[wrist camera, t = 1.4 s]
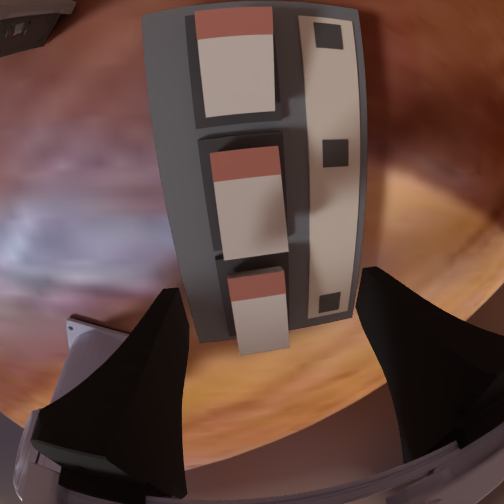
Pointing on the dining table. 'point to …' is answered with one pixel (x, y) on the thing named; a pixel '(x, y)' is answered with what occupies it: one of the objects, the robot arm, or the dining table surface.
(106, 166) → the dining table surface
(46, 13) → the electrical switch
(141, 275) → the dining table surface
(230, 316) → the switch panel
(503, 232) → the dining table surface
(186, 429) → the dining table surface
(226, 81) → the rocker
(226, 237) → the rocker middle
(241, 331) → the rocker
